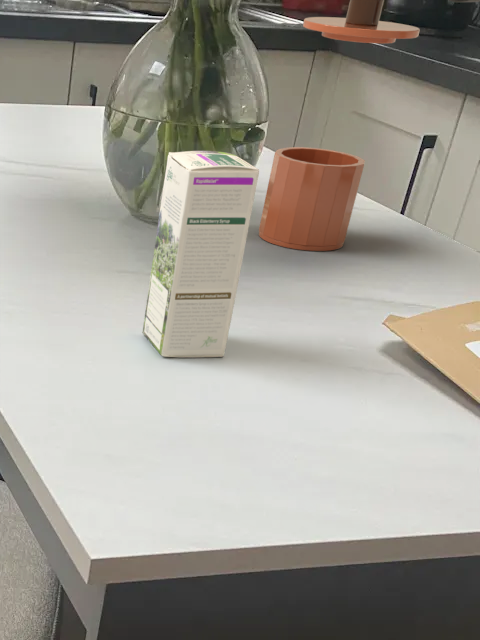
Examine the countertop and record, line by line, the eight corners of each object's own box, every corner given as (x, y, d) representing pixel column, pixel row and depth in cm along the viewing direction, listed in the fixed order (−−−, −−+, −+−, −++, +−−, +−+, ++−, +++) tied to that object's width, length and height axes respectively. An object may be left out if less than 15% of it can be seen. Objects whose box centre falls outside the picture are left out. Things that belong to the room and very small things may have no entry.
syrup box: (226, 358, 88) (265, 167, 79) (158, 358, 87) (190, 165, 78) (203, 333, 93) (238, 150, 84) (138, 333, 92) (166, 148, 83)
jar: (249, 225, 123) (265, 145, 118) (328, 229, 124) (348, 149, 119) (271, 249, 116) (289, 164, 111) (355, 252, 116) (377, 168, 111)
